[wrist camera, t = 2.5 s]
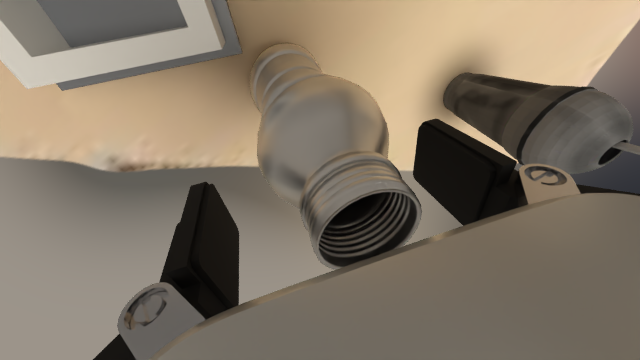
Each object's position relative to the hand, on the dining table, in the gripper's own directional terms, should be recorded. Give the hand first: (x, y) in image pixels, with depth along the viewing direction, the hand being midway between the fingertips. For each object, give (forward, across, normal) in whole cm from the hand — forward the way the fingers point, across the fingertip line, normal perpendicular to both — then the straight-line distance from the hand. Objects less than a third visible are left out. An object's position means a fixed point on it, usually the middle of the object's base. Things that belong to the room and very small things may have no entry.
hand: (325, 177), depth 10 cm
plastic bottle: (+16, -1, -1) cm, 16 cm away
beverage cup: (+16, -22, +5) cm, 27 cm away
